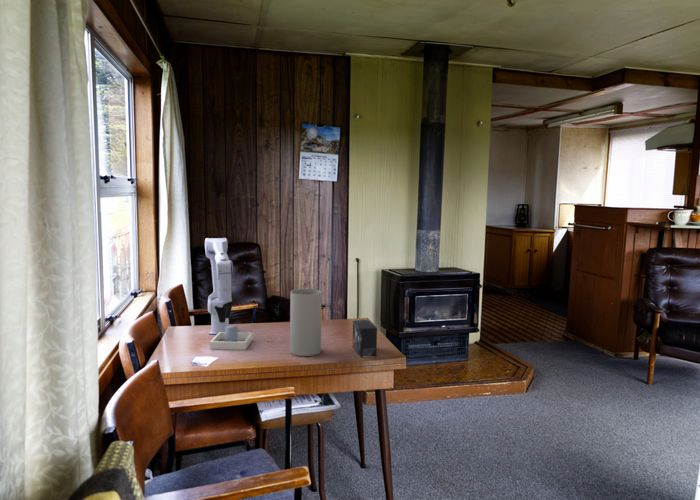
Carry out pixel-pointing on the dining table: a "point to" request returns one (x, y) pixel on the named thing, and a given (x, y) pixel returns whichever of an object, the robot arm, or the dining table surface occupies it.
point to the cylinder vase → (305, 322)
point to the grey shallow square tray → (218, 344)
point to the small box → (365, 338)
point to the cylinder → (231, 333)
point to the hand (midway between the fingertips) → (224, 320)
